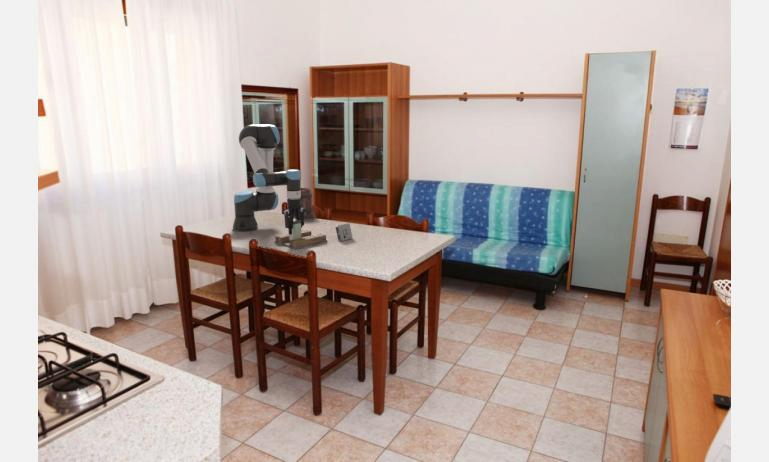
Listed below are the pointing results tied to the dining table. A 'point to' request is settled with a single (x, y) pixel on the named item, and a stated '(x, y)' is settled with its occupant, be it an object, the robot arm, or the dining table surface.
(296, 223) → the fader tab
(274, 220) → the dining table surface
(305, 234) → the brown wooden tray
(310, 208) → the tankard
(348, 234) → the electrical switch
